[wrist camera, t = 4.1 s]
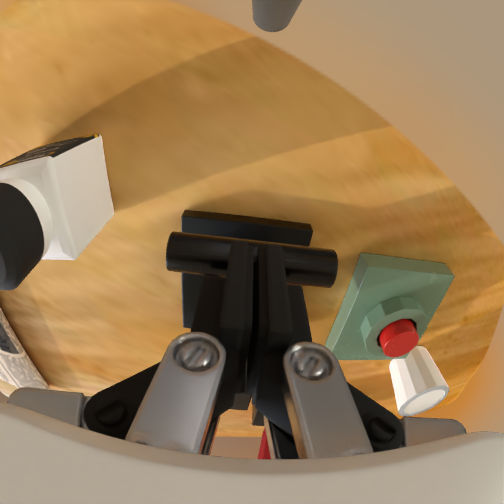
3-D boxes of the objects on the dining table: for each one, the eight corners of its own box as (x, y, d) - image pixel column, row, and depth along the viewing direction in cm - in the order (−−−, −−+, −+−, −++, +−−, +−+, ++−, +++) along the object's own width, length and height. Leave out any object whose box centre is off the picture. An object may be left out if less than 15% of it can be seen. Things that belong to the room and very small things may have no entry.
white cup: (439, 339, 32) (459, 381, 26) (419, 371, 35) (433, 411, 29) (395, 345, 32) (413, 391, 26) (377, 377, 35) (390, 420, 29)
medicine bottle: (103, 132, 19) (-6, 188, 9) (116, 215, 23) (40, 311, 13) (38, 146, 20) (-63, 203, 9) (54, 218, 23) (-25, 299, 13)
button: (387, 317, 24) (393, 331, 23) (418, 318, 24) (425, 331, 23) (373, 344, 26) (377, 358, 24) (403, 344, 26) (408, 357, 25)
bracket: (184, 209, 23) (128, 329, 12) (310, 223, 23) (350, 350, 13) (185, 319, 29) (159, 433, 18) (283, 329, 30) (292, 445, 19)
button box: (360, 252, 25) (374, 279, 21) (445, 263, 25) (463, 287, 22) (324, 344, 31) (330, 373, 28) (400, 345, 32) (410, 370, 28)
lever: (177, 216, 11) (160, 257, 9) (331, 234, 12) (343, 276, 10) (188, 372, 19) (182, 403, 17) (276, 380, 19) (277, 412, 17)
